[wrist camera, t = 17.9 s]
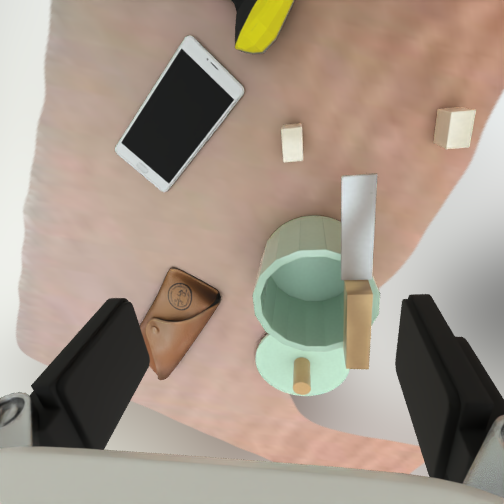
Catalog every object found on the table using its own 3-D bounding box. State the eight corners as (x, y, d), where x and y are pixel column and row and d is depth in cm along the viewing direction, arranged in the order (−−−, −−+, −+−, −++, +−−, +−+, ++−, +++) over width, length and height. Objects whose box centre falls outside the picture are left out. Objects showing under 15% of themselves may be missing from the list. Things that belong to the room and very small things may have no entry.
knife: (376, 173, 27) (383, 182, 25) (367, 349, 36) (371, 369, 33) (341, 175, 28) (344, 185, 25) (340, 349, 36) (343, 368, 34)
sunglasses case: (167, 264, 44) (175, 302, 40) (213, 272, 48) (225, 307, 44) (124, 346, 53) (127, 385, 48) (166, 347, 57) (173, 384, 52)
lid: (350, 320, 45) (356, 350, 40) (348, 391, 51) (353, 425, 46) (251, 320, 47) (245, 349, 42) (261, 388, 53) (256, 420, 48)
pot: (367, 212, 38) (383, 247, 30) (362, 303, 44) (376, 352, 36) (258, 218, 40) (246, 252, 32) (267, 303, 46) (259, 350, 38)
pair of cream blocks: (459, 106, 32) (476, 109, 29) (454, 141, 33) (469, 147, 30) (282, 124, 35) (280, 129, 32) (284, 155, 36) (283, 162, 33)
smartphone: (112, 150, 38) (187, 31, 32) (114, 149, 39) (189, 32, 32) (164, 194, 40) (246, 90, 33) (166, 193, 40) (247, 90, 34)
